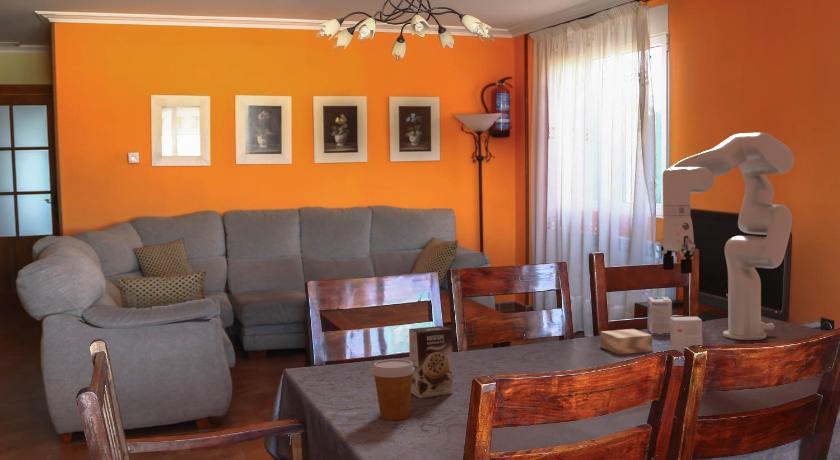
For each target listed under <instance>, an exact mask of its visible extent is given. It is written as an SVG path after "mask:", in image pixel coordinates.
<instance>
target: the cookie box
mask: <svg viewBox="0 0 840 460" xmlns="http://www.w3.org/2000/svg"><path fill="white" fill-rule="evenodd" d="M452 332H453V330H452V329H451V328H449V327H446V326H442V325H437V326H436V325H435V326H427V327H415V328H409V329H408V337H409V338H408V339H409V343H408V344H409V346H408V347H409V349H408V350H409V361H411V362H412V364H413V367H414V368H415V370H414V372H413V375H412V386H411V394H412V395H414V396H416V397H417V398H419V399H422V398H429V397H437V396H445V395H452V394H454V393H453V392H454V390H453V389H454V387H453V385H454V383H453V345H452V344H453V343H452V340H453V339H452Z"/></svg>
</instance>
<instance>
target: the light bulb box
mask: <svg viewBox="0 0 840 460" xmlns="http://www.w3.org/2000/svg"><path fill="white" fill-rule="evenodd" d="M670 317H673V301H672V299H670V298H669V296H647V330H648V331H649V332H651V333H670ZM651 333H650V334H651Z"/></svg>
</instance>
